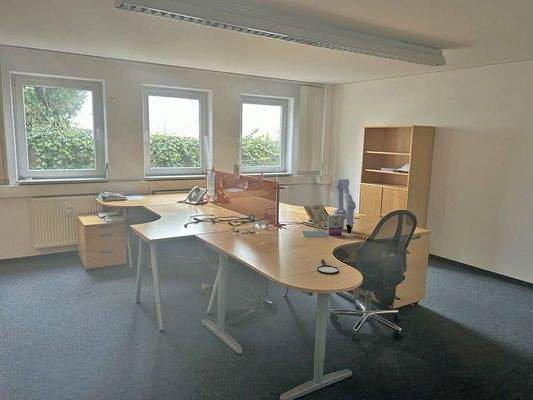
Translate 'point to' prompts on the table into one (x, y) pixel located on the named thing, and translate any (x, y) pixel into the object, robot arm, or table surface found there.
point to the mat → (314, 234)
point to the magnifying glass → (327, 268)
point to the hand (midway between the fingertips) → (349, 233)
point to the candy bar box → (334, 225)
